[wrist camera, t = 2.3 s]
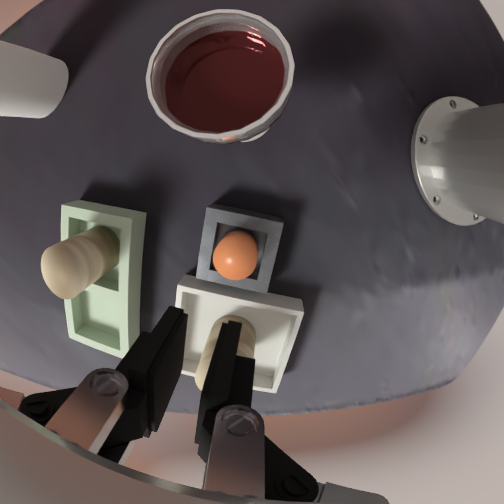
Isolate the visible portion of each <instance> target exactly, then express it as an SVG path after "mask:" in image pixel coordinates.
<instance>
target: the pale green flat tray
mask: <svg viewBox="0 0 504 504" xmlns="http://www.w3.org/2000/svg"><path fill="white" fill-rule="evenodd" d="M146 214H147V213H145V212H140V211H135V210H130V209H125V208H120V207H115V206H109V205H104V204H99V203H93V202H88V201H83V200H77V201H73V202H70V203H66V204H62V209H61V241H64V240H66V239H68V238H70V237H73V236H75V235H77V234H80V233H82V232H84V231H86V230H89V229H91V228H94V227H96V226H105V227H108V228H110V229H111V230H112V231H113V232H114V233H115V234H116V235H117V237H118V238H119V240H120V253H119V263H118V265H117V266H116V267H114V268H113V269H112V270H110V271H109V272H107V273H106V274H105V275H103V276H102V277H101V278H99V279H98V280H97V281H95V282H94V283H93V284H91V285H90V286H89V287H87V288H86V289H85V290H83V291H82V292H81V293H79V294H78V295H77V296H75V297H74V298H72V299H64V302H65V311H66V319H67V326H68V332H69V338H72V339H74V340H76V341H79V342H81V343H84V344H86V345H88V346H91V347H93V348H96V349H98V350H101V351H104V352H106V353H109V354H112V355H114V356H117V357H120V358H124V356H125V355H126V353H127V352H128V351H129V349H130V348H131V346H132V345H133V344H134V342H135V341H136V339H137V338H138V337H139V335H140V291H141V272H142V257H143V244H144V233H145V223H146Z"/></svg>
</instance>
